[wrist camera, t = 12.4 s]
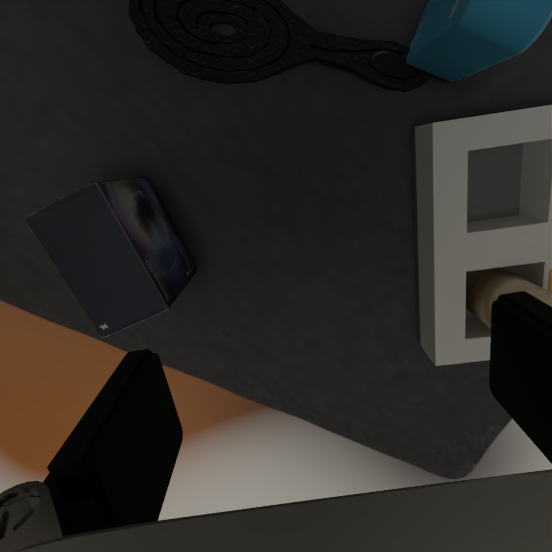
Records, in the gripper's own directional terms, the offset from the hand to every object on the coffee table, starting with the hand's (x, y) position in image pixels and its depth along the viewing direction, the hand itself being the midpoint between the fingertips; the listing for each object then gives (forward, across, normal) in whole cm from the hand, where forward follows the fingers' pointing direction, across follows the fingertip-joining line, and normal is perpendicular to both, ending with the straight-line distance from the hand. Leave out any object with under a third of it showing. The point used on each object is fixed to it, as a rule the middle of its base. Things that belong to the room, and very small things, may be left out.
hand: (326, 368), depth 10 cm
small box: (+27, +14, 0) cm, 31 cm away
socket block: (+26, -18, +6) cm, 32 cm away
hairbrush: (+28, -2, -14) cm, 31 cm away
